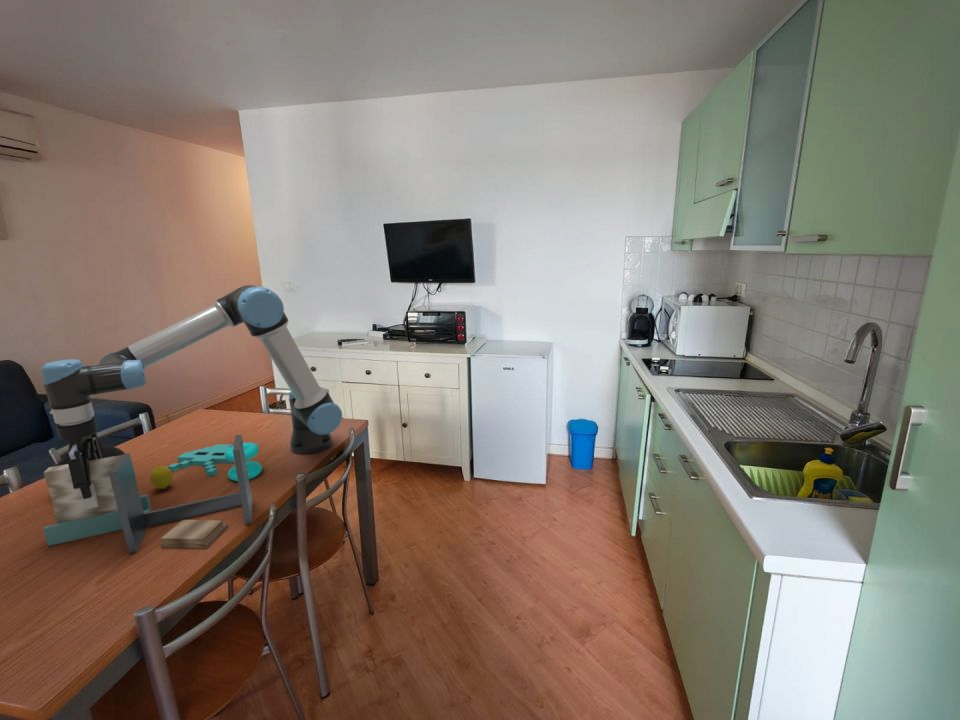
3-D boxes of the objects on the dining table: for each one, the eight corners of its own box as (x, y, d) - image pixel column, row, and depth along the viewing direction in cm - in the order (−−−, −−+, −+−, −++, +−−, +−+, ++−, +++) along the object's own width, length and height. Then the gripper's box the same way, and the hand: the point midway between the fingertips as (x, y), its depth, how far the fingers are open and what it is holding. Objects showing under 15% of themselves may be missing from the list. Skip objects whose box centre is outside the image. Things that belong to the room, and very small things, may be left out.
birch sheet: (139, 512, 122) (126, 454, 117) (137, 518, 119) (123, 458, 115) (66, 528, 115) (48, 467, 111) (61, 534, 112) (43, 472, 108)
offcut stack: (228, 529, 116) (226, 519, 115) (207, 550, 108) (205, 539, 107) (185, 528, 117) (183, 518, 116) (161, 549, 109) (159, 538, 108)
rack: (252, 501, 128) (241, 433, 123) (251, 523, 118) (239, 449, 112) (141, 526, 117) (123, 452, 111) (128, 553, 106) (108, 473, 101)
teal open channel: (151, 509, 125) (147, 494, 124) (144, 524, 118) (140, 508, 117) (61, 528, 116) (56, 512, 115) (48, 546, 110) (43, 528, 108)
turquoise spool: (251, 438, 148) (263, 446, 141) (255, 464, 151) (267, 474, 144) (219, 448, 141) (230, 457, 134) (224, 475, 143) (235, 486, 137)
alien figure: (213, 477, 143) (250, 450, 163) (212, 471, 143) (249, 445, 162) (158, 475, 145) (200, 449, 164) (156, 469, 145) (199, 443, 164)
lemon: (178, 485, 137) (174, 463, 135) (161, 494, 132) (156, 471, 130) (166, 483, 139) (161, 460, 137) (148, 491, 134) (143, 468, 132)
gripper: (71, 410, 116) (91, 487, 122) (38, 437, 100) (63, 524, 105) (106, 406, 120) (124, 481, 125) (80, 431, 103) (102, 516, 108)
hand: (96, 500), depth 115 cm, fingers open, 6 cm apart
